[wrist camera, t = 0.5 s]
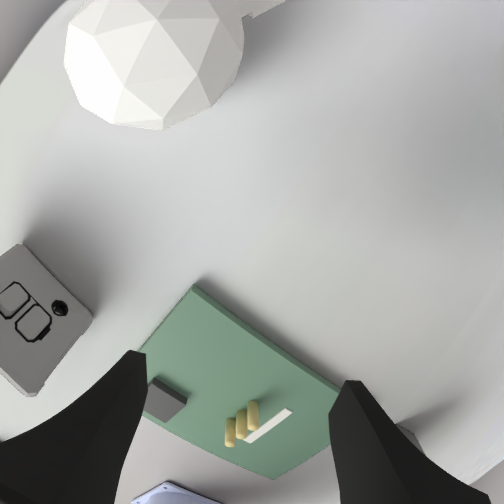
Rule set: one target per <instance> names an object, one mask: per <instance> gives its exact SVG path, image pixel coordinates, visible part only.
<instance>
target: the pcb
mask: <svg viewBox="0 0 504 504" xmlns="http://www.w3.org/2000/svg"><path fill="white" fill-rule="evenodd" d="M138 352H141V353H146V364H147V382H148V393H147V397H146V401H145V405H144V409H143V413H142V415H143V416H144V417H146V418H147V419H149V420H151V421H152V422H154V423H156V424H157V425H159V426H161V427H163V428H164V429H166V430H168V431H170V432H171V433H173V434H175V435H177V436H179V437H180V438H182V439H184V440H186V441H188V442H190V443H192V444H194V445H196V446H198V447H200V448H202V449H204V450H206V451H208V452H210V453H212V454H214V455H216V456H218V457H220V458H222V459H224V460H227V461H229V462H231V463H233V464H236V465H238V466H240V467H243V468H245V469H247V470H250V471H252V472H255V473H257V474H260V475H262V476H265V477H267V478H270V479H272V480H274V479H276V478H278V477H280V476H281V475H283V474H285V473H286V472H288V471H290V470H291V469H293V468H295V467H296V466H298V465H300V464H301V463H303V462H304V461H306V460H307V459H309V458H311V457H312V456H314V455H315V454H317V453H318V452H320V451H321V450H323V449H324V448H325V447H327V446H328V445H330V444H331V442H330V436H329V420H328V413H329V412H330V410H331V408H332V406H333V404H334V402H335V400H336V398H337V397H338V395H339V393H340V391H341V389H340V388H339V387H337V386H335V385H334V384H332V383H331V382H329V381H328V380H326V379H325V378H323V377H322V376H320V375H319V374H317V373H316V372H314V371H313V370H311V369H310V368H308V367H307V366H306V365H304V364H303V363H301V362H300V361H298V360H297V359H295V358H294V357H292V356H291V355H290V354H288V353H287V352H285V351H284V350H282V349H281V348H280V347H278V346H277V345H275V344H274V343H272V342H271V341H270V340H268V339H267V338H265V337H264V336H263V335H261V334H260V333H258V332H257V331H256V330H254V329H253V328H252V327H250V326H249V325H247V324H246V323H245V322H243V321H242V320H241V319H239V318H238V317H237V316H235V315H234V314H232V313H231V312H230V311H228V310H227V309H226V308H224V307H223V306H222V305H220V304H219V303H218V302H216V301H215V300H214V299H212V298H211V297H210V296H209V295H207V294H206V293H205V292H203V291H202V290H201V289H199V288H198V287H197V286H195V285H194V284H193V285H192V287H191V288H190V289H189V290H188V291H187V292H186V294H185V295H184V296H183V297H182V298H181V300H180V301H179V302H178V303H177V304H176V306H175V307H174V308H173V309H172V310H171V312H170V313H169V314H168V315H167V316H166V318H165V319H164V320H163V321H162V322H161V324H160V325H159V326H158V327H157V328H156V330H155V331H154V332H153V333H152V334H151V336H150V337H149V338H148V339H147V341H146V342H145V343H144V344H143V345H142V347H141V348H140V349H139V350H138Z"/></svg>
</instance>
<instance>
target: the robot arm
mask: <svg viewBox="0 0 504 504" xmlns="http://www.w3.org/2000/svg"><path fill="white" fill-rule="evenodd" d="M147 393H148V382H147V364H146V353H141V352H137V351H132V350H129V351H127V352H126V353H125V354H124V355H123V356H122V358H121V359H120V360H119V361H118V362H117V363H116V364H115V365H114V366H113V367H112V368H111V369H110V370H109V371H108V372H107V373H106V374H105V375H104V376H103V377H102V378H101V379H99V380H98V381H97V382H96V383H95V384H94V385H93V386H92V387H91V388H90V389H89V390H87V391H86V392H85V393H84V394H83V395H81V396H80V397H79V398H78V399H77V400H75V401H74V402H73V403H71V404H70V405H69V406H67V407H66V408H65V409H63V410H62V411H60V412H59V413H58V414H56V415H55V416H53V417H51V418H50V419H48V420H47V421H45V422H43V423H41V424H40V425H38V426H36V427H34V428H33V429H31V430H29V431H27V432H24V433H22V434H20V435H18V436H16V437H13V438H11V439H9V440H6V441H4V442H1V443H0V504H114V502H115V497H116V492H117V487H118V483H119V478H120V474H121V470H122V467H123V464H124V461H125V458H126V455H127V453H128V450H129V448H130V445H131V442H132V440H133V437H134V435H135V432H136V429H137V427H138V424H139V422H140V419H141V416H142V413H143V409H144V405H145V401H146V397H147ZM328 420H329V436H330V442H331V447H332V452H333V457H334V462H335V467H336V472H337V478H338V483H339V489H340V501H341V504H491V502H490V499H489V496H488V495H487V494H485V493H483V492H481V491H479V490H477V489H474V488H472V487H470V486H468V485H466V484H465V483H463V482H461V481H460V480H458V479H456V478H455V477H453V476H452V475H450V474H449V473H447V472H446V471H444V470H443V469H442V468H440V467H439V466H438V465H436V464H435V463H434V462H432V461H431V460H430V459H429V458H428V457H427V456H425V455H424V454H423V453H422V452H421V451H420V450H419V449H418V448H417V447H416V446H415V445H414V444H413V443H412V442H411V441H410V440H409V439H408V438H407V437H406V436H405V435H404V434H403V433H402V432H401V431H400V429H399V428H398V427H397V426H396V425H395V424H394V422H393V421H392V420H391V419H390V418H389V416H388V415H387V414H386V413H385V411H384V410H383V409H382V408H381V406H380V405H379V404H378V402H377V401H376V400H375V398H374V397H373V396H372V395H371V393H370V392H369V391H368V389H367V388H366V387H365V386H364V384H363V383H362V382H361V381H354V380H346V381H345V383H344V385H343V387H342V389H341V391H340V393H339V395H338V397H337V398H336V400H335V402H334V404H333V406H332V408H331V410H330V412H329V413H328ZM131 504H221V503H218V502H215V501H213V500H210V499H207V498H205V497H202V496H200V495H197V494H195V493H192V492H190V491H188V490H185V489H183V488H181V487H178V486H176V485H174V484H172V483H169V482H165V483H163V484H161V485H159V486H158V487H156V488H154V489H152V490H151V491H149V492H147V493H145V494H143V495H142V496H140V497H138V498H136V499H134V500H132V502H131Z"/></svg>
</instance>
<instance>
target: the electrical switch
mask: <svg viewBox="0 0 504 504" xmlns="http://www.w3.org/2000/svg"><path fill="white" fill-rule="evenodd" d="M91 323H92V315H91V313H90V311H89V310H87V309H86V308H85V307H84V306H83V305H82V304H81V303H80V302H79V301H78V300H77V299H76V298H75V297H74V296H73V295H72V294H71V293H70V292H68V291H67V290H66V289H65V288H64V287H63V286H62V285H61V284H60V283H59V282H58V281H57V280H56V279H55V278H54V276H53V275H52V274H51V273H50V272H49V271H48V270H47V269H46V268H45V267H44V266H43V265H42V264H41V263H40V262H39V261H38V260H37V259H36V257H35V256H34V255H33V254H32V253H31V252H30V251H29V250H28V249H27V247H26V246H24V245H20V244H17V245H15V246H14V247H12V248H11V249H10V250H8V251H7V252H6V253H4V254H3V255H2V256H0V373H1V374H2V375H3V376H4V377H5V378H6V379H7V380H8V381H9V382H10V383H11V384H12V385H13V386H14V387H15V388H16V389H17V390H18V391H20V392H21V393H22V394H23V395H25V396H26V397H35V396H36V395H37V394H38V392H39V391H40V390H41V388H42V387H43V386H44V384H45V383H44V382H45V381H46V380H47V378H48V377H49V376H50V374H51V373H52V372H53V370H54V369H55V368H56V366H57V365H58V364H59V363H60V361H61V360H62V359H63V357H64V356H65V355H66V353H67V352H68V351H69V350H70V348H71V347H72V346H73V345H74V343H75V342H76V341H77V340H78V338H79V337H80V336H81V335H83V334H84V333H85V331H86V330H87V329H88V328H89V326H90V324H91Z"/></svg>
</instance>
